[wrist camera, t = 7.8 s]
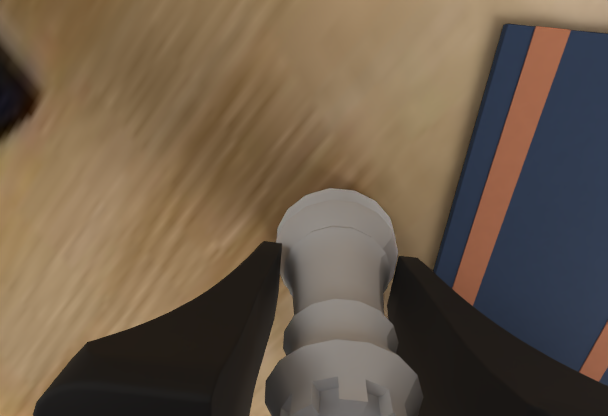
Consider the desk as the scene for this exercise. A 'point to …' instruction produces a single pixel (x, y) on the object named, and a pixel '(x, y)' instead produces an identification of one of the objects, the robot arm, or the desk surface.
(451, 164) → the desk surface
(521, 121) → the cloth
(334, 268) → the rook chess piece
